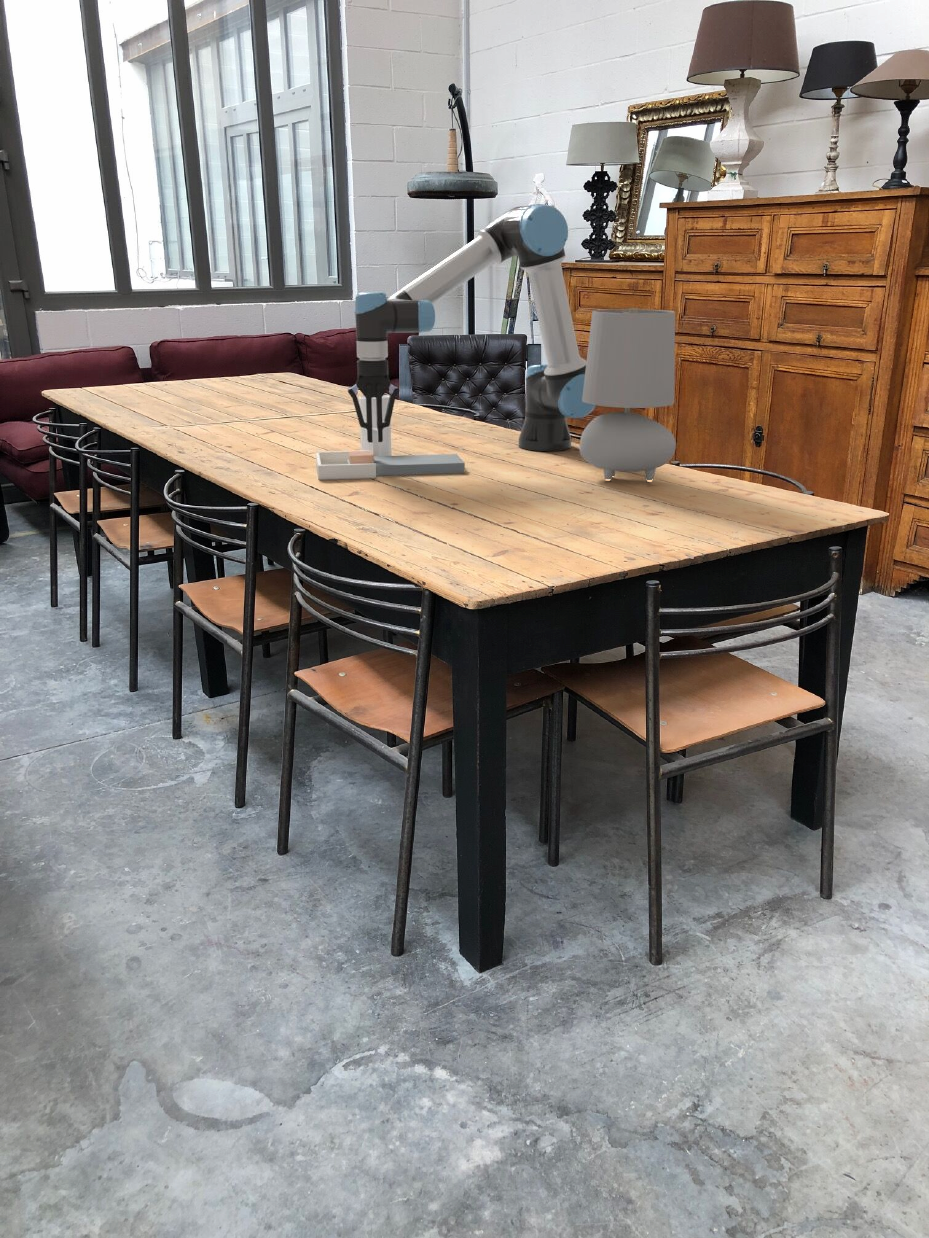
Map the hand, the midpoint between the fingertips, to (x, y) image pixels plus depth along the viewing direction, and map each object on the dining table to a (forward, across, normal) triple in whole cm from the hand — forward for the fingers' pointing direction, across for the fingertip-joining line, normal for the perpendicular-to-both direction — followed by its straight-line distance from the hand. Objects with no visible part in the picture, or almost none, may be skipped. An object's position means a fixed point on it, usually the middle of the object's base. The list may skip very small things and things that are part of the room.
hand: (375, 455), depth 243 cm
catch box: (+4, +8, 0) cm, 9 cm away
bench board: (+4, -11, 0) cm, 12 cm away
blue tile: (+3, +4, 0) cm, 5 cm away
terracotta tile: (+1, +4, 0) cm, 4 cm away
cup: (+4, -2, -19) cm, 20 cm away
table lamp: (+4, -59, +21) cm, 63 cm away
